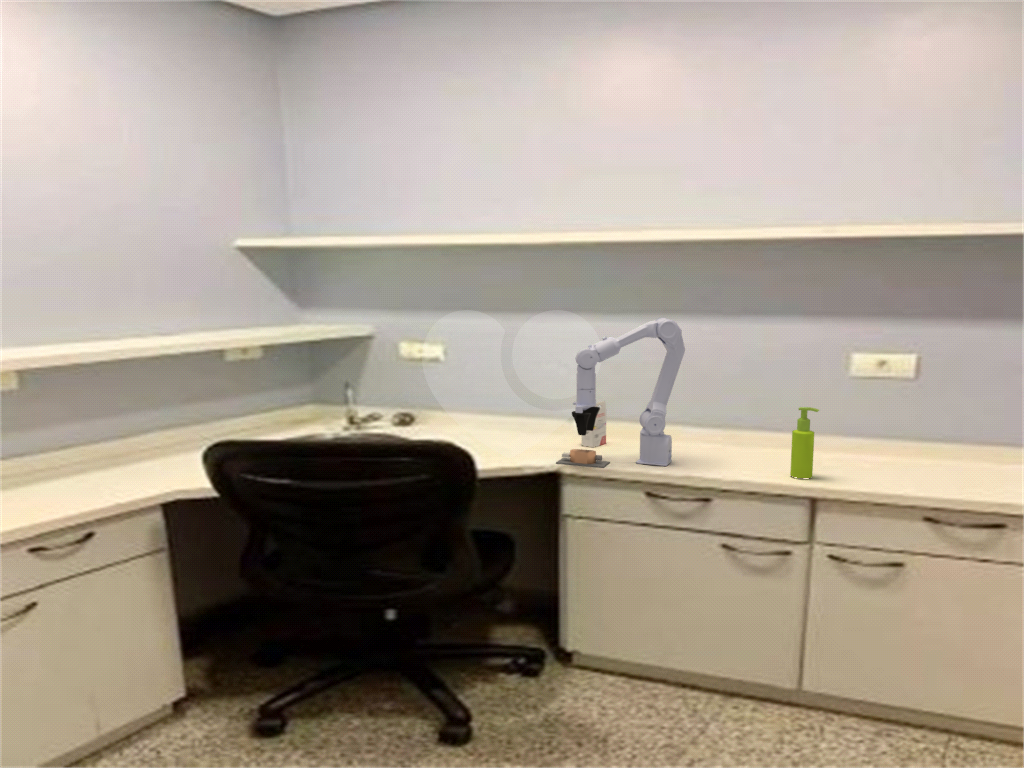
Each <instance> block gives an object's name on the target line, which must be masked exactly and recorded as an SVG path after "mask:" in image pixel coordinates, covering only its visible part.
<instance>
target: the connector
mask: <svg viewBox="0 0 1024 768" xmlns="http://www.w3.org/2000/svg"><path fill="white" fill-rule="evenodd" d="M569 451H570V452H562V453H561V458H570V462H573V463H583V464H595V463H596V460H598V461H603V460H602V459H603V455H601V454H597V452H596V451H597V450H593V449H583V448H573V449H570V450H569Z"/></svg>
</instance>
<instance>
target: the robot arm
mask: <svg viewBox="0 0 1024 768" xmlns="http://www.w3.org/2000/svg"><path fill="white" fill-rule="evenodd" d="M644 338H651V339H658V340H660V342H661V343H662V345H663V346H664V348H665V350H666V352H665V353H666V354H665V357H664V360H663V363H662V365H661V368H660V371H659V375H658V377H657V380H656V383H655V386H654V389H653V393H652V396H651V398H650V400H649V402H648V403H647V405H646V408H645V409H644V410H643V412H642V413H641V414H640V416H639V424H640V425H641V427H642V428H641V430H640V431H639V459H637V460H636V461H635V464H641V465H652V466H662V467H663V466H664V467H667V466H668V465H669V464H670V463H671V462H672V456H673V455H672V451H673V450H672V449H673V447H672V446H673V440H672V439H673V438H672V436H671V435H669V434H665V431H664V430H665V428H666V416H667V406H668V402H669V401H670V400H669V399H670V397H671V393H672V390H673V387H674V384H675V381H676V378H677V376H678V373H679V369H680V366H681V364H682V361H683V358H684V356H685V353H686V348H685V343H684V339H683V335H682V328H680V326H679V324H678V323H677V322H676V321H675V320H674V319H672V318H671V319H669V318H667V317H658V318H656V319H655V320H650V321H647V322H645V323H643V324H641V325H639V326H637V327H635V328H633V329H631V330H629V331H627V332H626V333H623V334H621V335H620V336H617V337H613V336H609V337H607V336H603V337H602V338H601V340H600V341H597V342H596V343H593V344H592V343H589V344H588V345H587V347H588V348H587V347H585V348H581V349H579V350H578V352H576V355H575V361H576V363H577V367H576V371H577V372H576V401H574V402H572V405H573V406H575V411H574V410H573V411H571V415H572V417H573V420H574V422H575V426H576V430H577V435H578V436H582V435H584V436H585V435H586V432H587V431H593V429H594V425H595V420H596V417H597V414H598V412H599V410H600V406H597V407H595V406H596V403H597V399H596V398H597V397H596V394H597V393H596V392H597V389H596V387H597V386H596V383H597V381H596V380H597V379H596V378H597V377H596V375H597V374H596V366H597V363H601V362H605V361H606V360H607V359H610V358H612V357H615V356H617V355H618V354H619V353H620V351H621V348H624V347H627V346H628V345H631V344H633V343H635V342H637V341H640V340H642V339H644Z"/></svg>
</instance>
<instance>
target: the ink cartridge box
mask: <svg viewBox="0 0 1024 768" xmlns="http://www.w3.org/2000/svg"><path fill="white" fill-rule="evenodd" d="M606 405H607V404H606V400H603V401H599V402H596V406H595V407H600V406H601V407H600V410H599V412H598V414H597V417H596V420H595V425H594V429H593V431H587V432H586V435H585V436H584V435H581V446H582V445H584V446H583V447H586V446H590V447H589V448H596V447H599V446H603V445H604V444H606V443H607V406H606ZM595 446H596V447H595Z"/></svg>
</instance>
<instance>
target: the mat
mask: <svg viewBox="0 0 1024 768" xmlns="http://www.w3.org/2000/svg"><path fill="white" fill-rule="evenodd" d="M555 464H557V465H558V464H559V465H567V466H568V465H569V466H579V467H589V468H599V469H601V468H602V469H605V467H607V466H608V465H609V464H611V461H610V460H609V461H606V460H602V461H599V460H596V463H595V464H583V463H573V462H570V458H567V457H561V458H560V459H559V460H557V461H556V462H555Z"/></svg>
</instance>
